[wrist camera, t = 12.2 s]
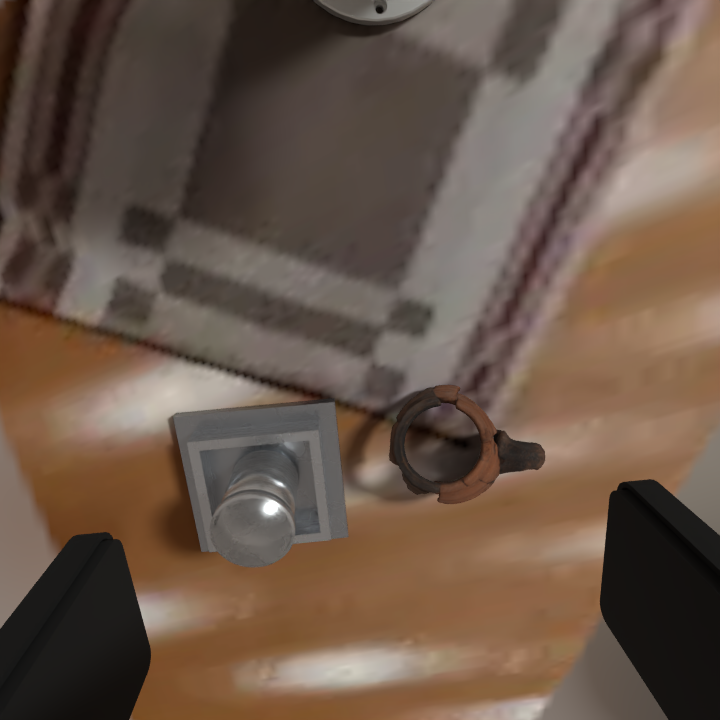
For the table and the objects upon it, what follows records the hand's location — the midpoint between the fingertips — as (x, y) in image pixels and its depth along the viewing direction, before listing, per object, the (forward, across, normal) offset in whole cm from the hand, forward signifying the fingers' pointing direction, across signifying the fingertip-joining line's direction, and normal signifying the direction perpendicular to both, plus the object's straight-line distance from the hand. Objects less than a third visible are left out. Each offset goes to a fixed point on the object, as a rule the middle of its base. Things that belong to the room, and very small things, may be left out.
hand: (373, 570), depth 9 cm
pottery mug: (+30, -9, +13) cm, 34 cm away
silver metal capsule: (+29, +8, +15) cm, 34 cm away
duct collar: (+30, +8, +15) cm, 35 cm away
